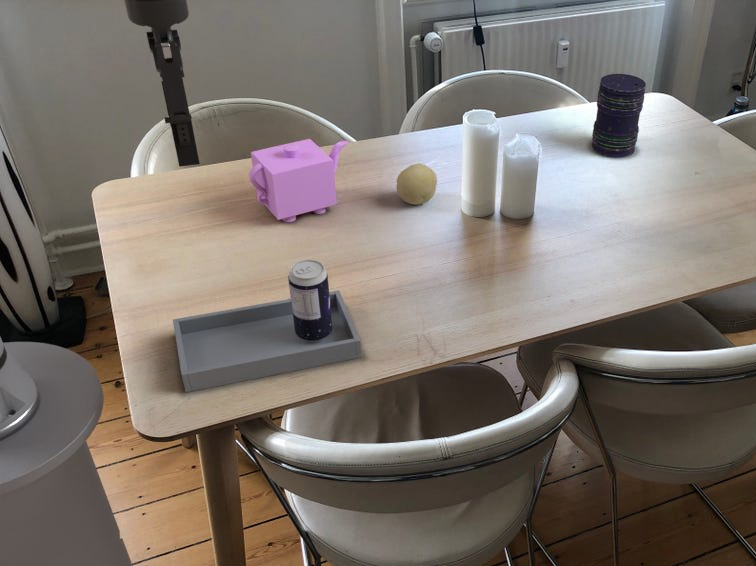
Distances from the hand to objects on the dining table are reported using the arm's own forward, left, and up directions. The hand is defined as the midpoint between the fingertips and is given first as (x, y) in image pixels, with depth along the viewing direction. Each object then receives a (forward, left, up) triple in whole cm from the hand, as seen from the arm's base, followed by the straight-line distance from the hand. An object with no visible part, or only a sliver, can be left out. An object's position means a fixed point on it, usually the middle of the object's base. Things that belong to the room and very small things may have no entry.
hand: (184, 143), depth 119 cm
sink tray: (+6, -16, -27) cm, 32 cm away
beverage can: (+13, -16, -26) cm, 33 cm away
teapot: (+20, +25, -27) cm, 42 cm away
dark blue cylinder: (+90, +31, -27) cm, 99 cm away
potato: (+41, +20, -27) cm, 53 cm away
